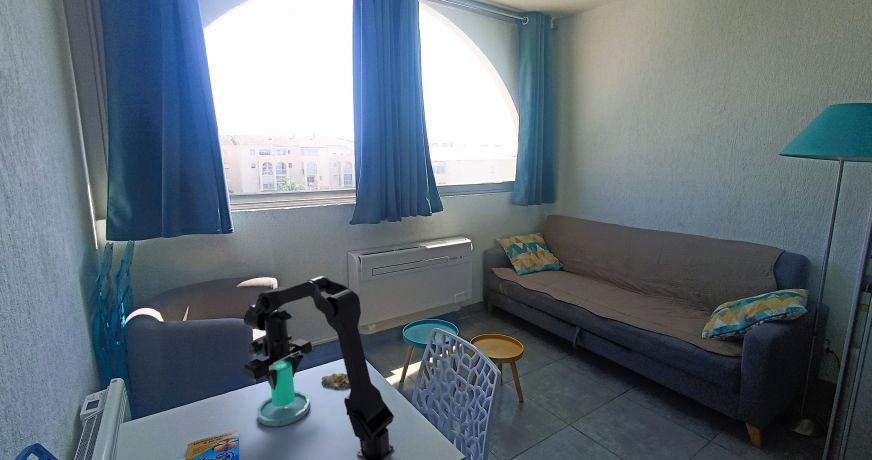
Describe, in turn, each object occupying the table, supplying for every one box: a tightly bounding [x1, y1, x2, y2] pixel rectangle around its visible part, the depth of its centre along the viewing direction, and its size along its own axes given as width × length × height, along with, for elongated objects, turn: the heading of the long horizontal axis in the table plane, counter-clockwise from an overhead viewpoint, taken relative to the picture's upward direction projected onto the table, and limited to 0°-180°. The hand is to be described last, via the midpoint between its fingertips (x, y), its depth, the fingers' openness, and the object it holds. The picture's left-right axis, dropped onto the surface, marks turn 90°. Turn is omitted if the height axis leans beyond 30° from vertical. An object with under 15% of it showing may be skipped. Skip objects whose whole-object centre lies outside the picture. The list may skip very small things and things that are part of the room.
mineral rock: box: [321, 373, 350, 390], centre depth 127 cm, size 11×4×8 cm
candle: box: [270, 360, 295, 407], centre depth 111 cm, size 6×6×12 cm
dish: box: [256, 390, 311, 427], centre depth 113 cm, size 14×14×2 cm
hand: (282, 385), depth 111 cm, fingers closed on candle, 5 cm apart
